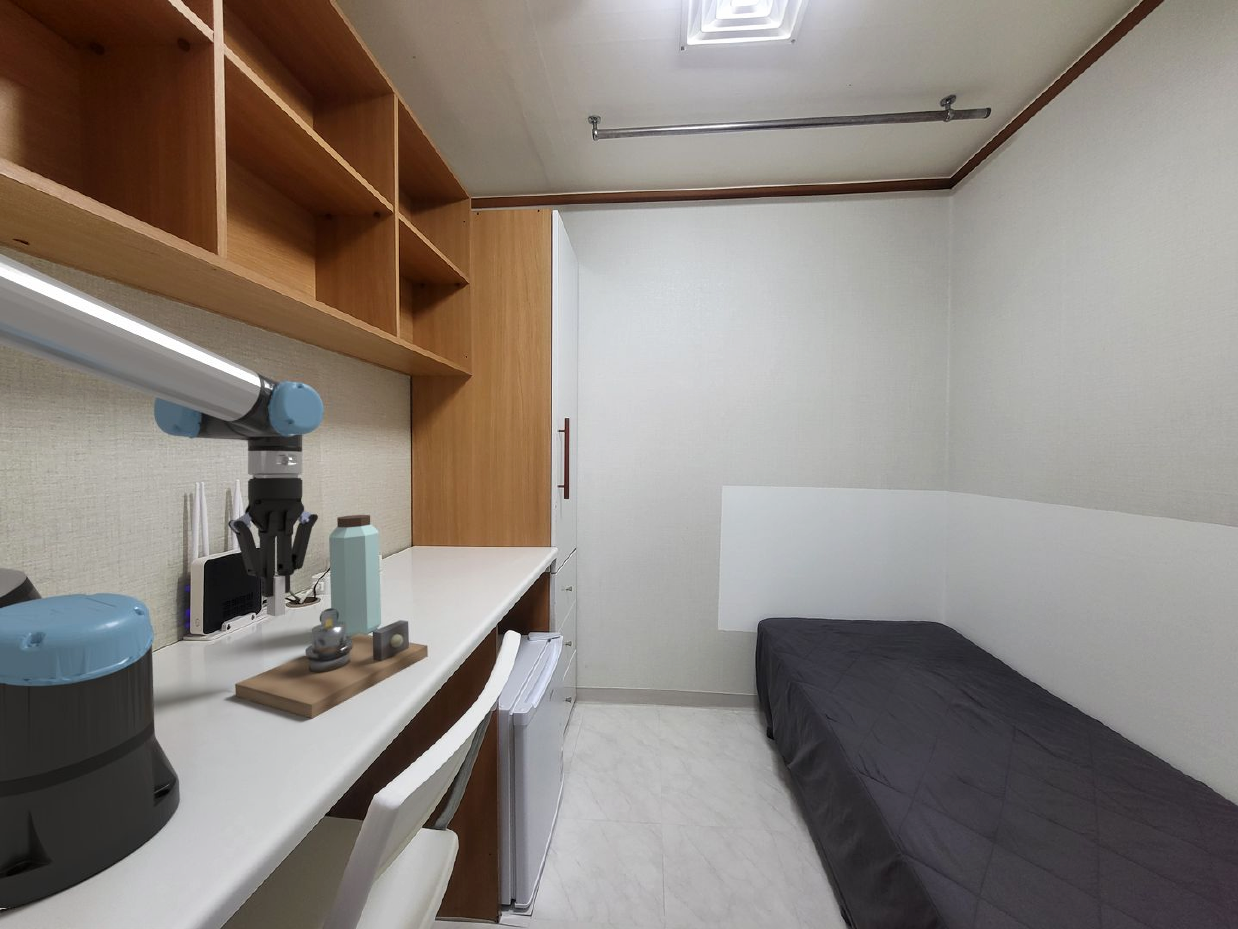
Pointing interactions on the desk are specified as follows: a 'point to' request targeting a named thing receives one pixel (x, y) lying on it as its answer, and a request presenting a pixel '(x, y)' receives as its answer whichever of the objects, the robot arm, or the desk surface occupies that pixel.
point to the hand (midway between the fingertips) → (275, 614)
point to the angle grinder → (329, 638)
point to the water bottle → (355, 574)
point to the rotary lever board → (334, 673)
